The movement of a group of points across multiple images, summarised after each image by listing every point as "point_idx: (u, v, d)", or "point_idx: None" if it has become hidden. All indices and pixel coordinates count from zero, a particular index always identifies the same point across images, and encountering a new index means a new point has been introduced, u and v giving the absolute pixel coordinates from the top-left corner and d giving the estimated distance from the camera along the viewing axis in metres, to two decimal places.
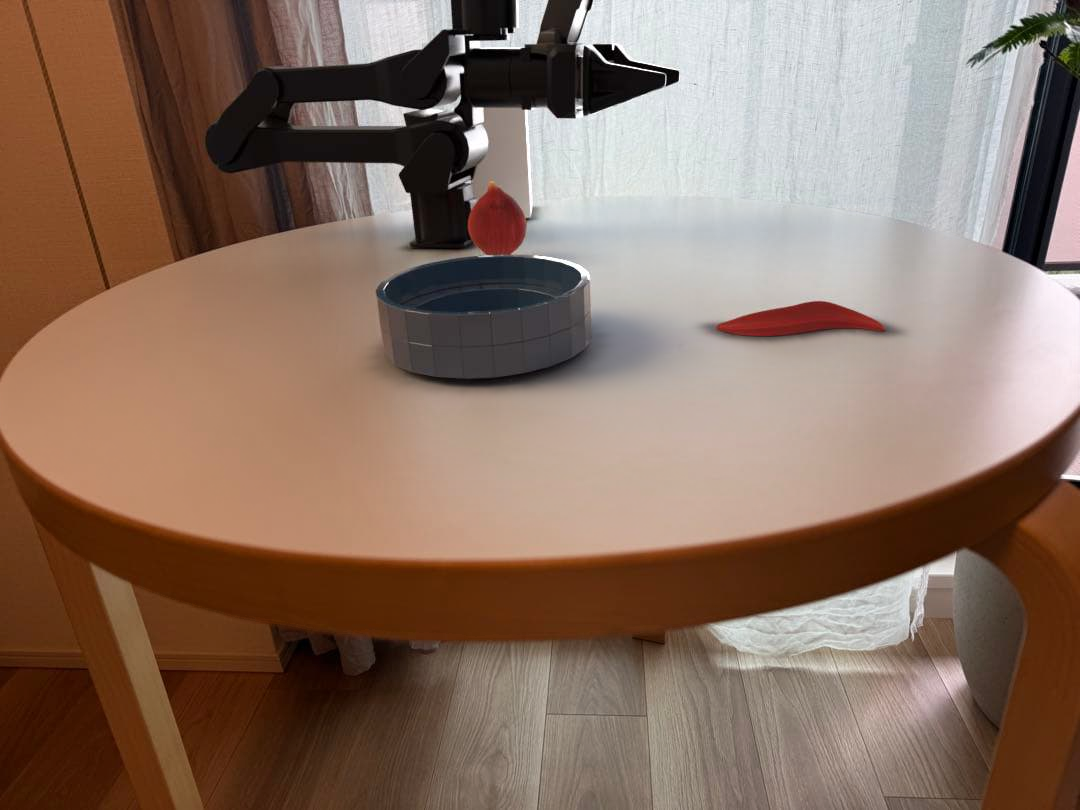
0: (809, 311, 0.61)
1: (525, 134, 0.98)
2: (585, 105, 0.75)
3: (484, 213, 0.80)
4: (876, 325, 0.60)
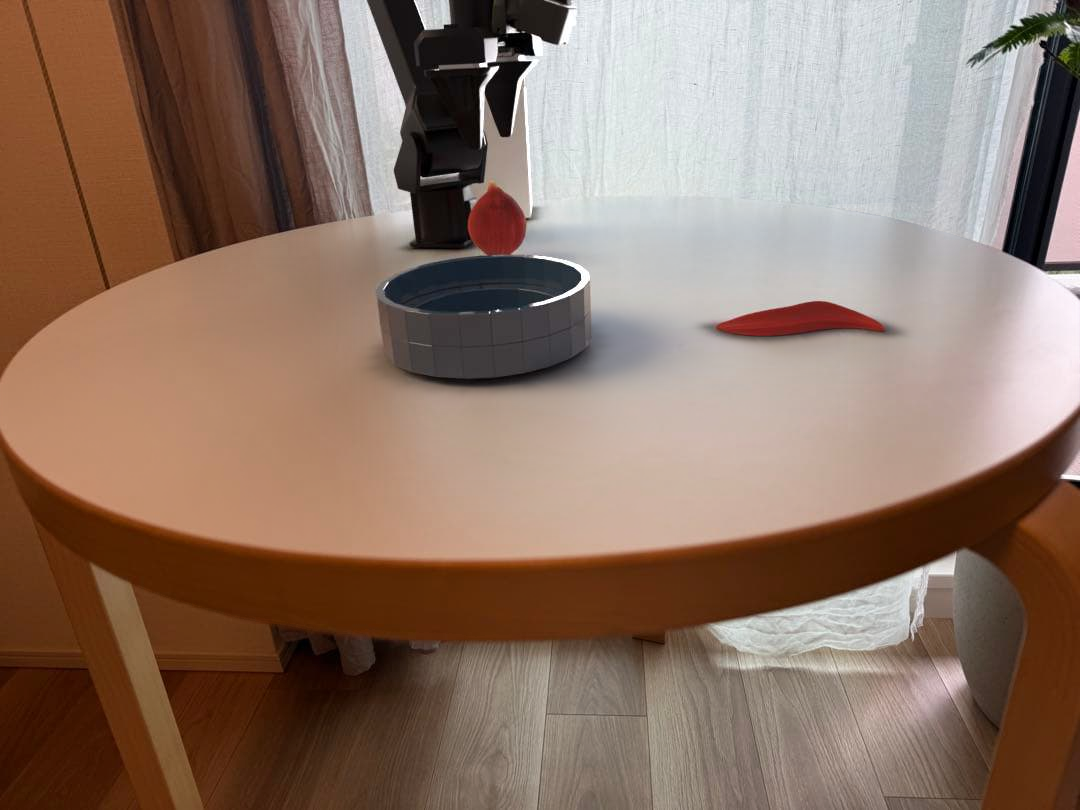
0: (809, 311, 0.61)
1: (525, 134, 0.98)
2: (432, 73, 0.70)
3: (484, 213, 0.80)
4: (876, 325, 0.60)
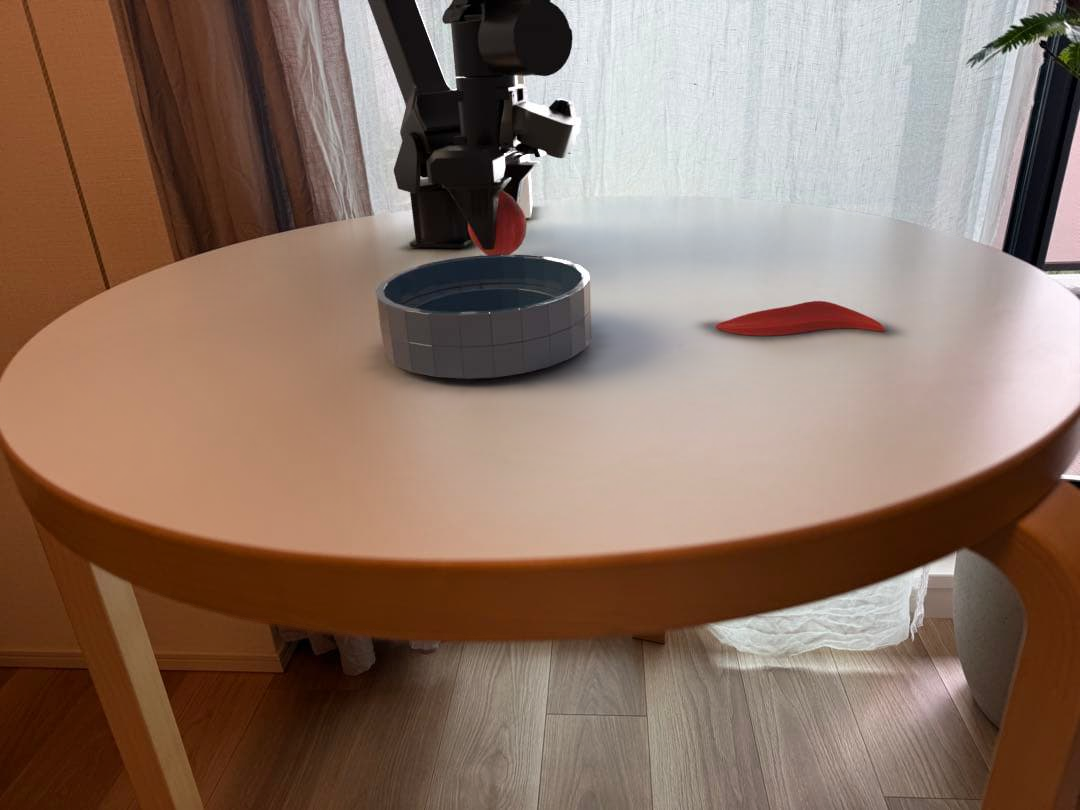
0: (809, 311, 0.61)
1: None
2: (450, 185, 0.75)
3: None
4: (876, 325, 0.60)
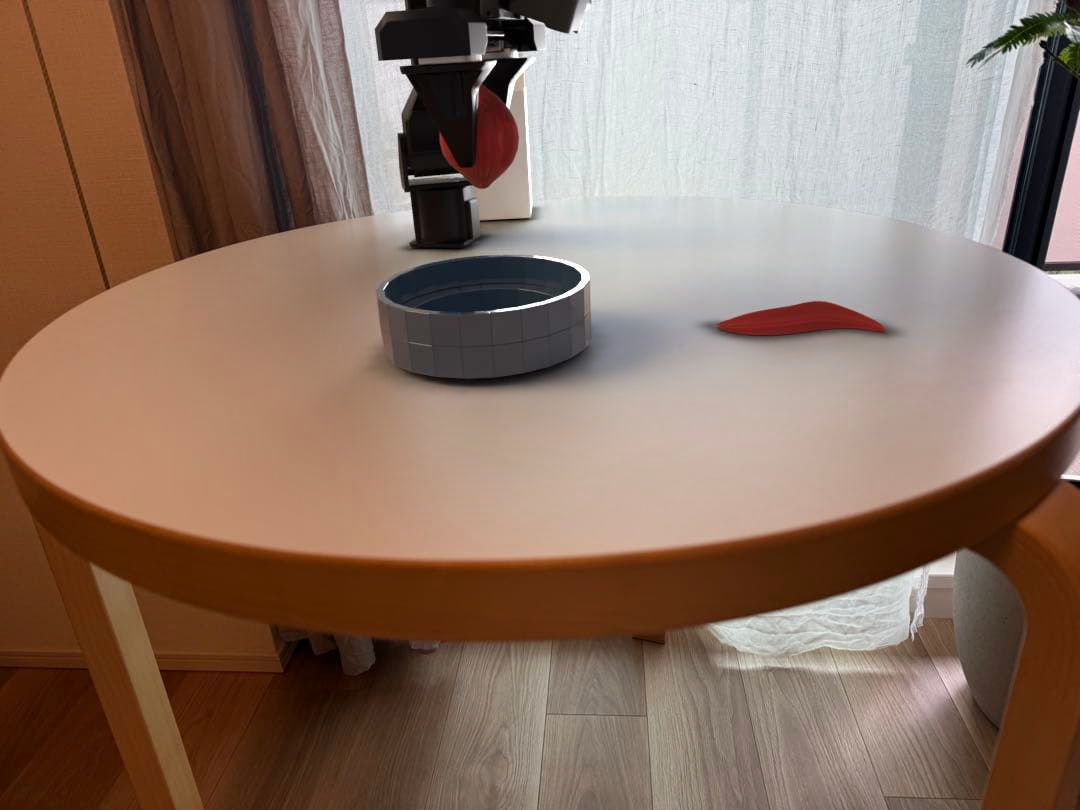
0: (809, 311, 0.61)
1: (525, 134, 0.98)
2: (410, 70, 0.54)
3: None
4: (876, 326, 0.60)
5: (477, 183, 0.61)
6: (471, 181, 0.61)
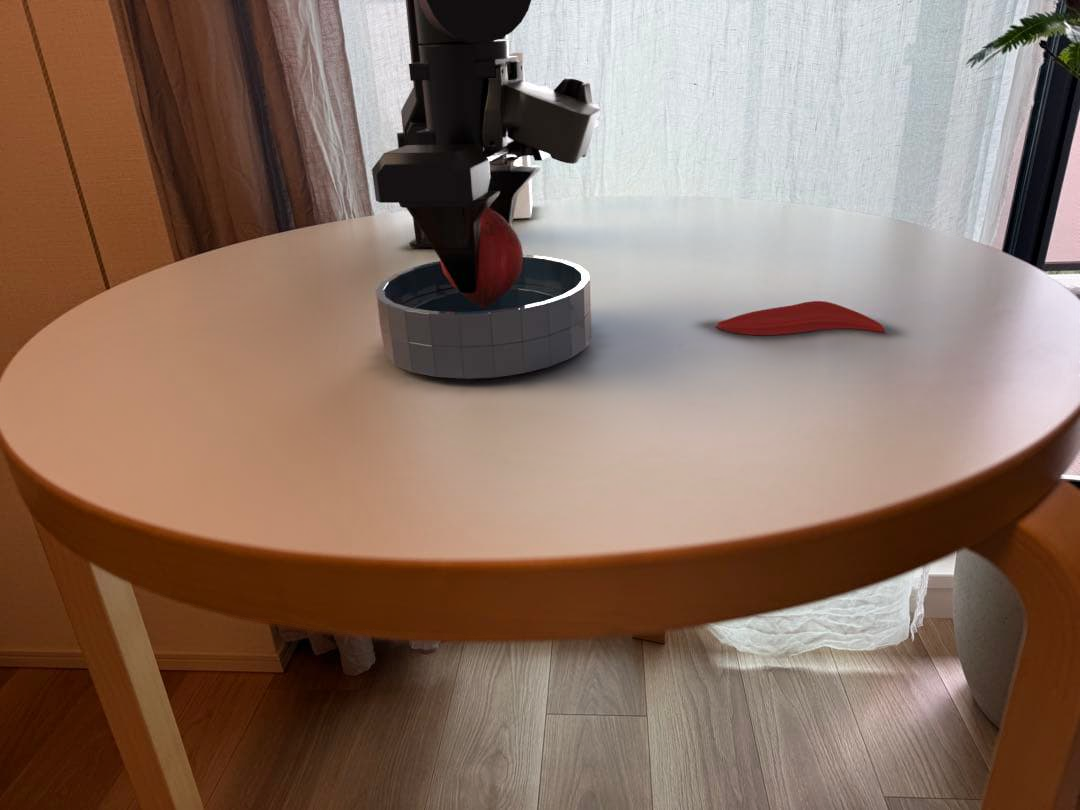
0: (809, 311, 0.61)
1: None
2: (409, 204, 0.51)
3: None
4: (876, 326, 0.60)
5: (478, 303, 0.59)
6: (473, 300, 0.59)
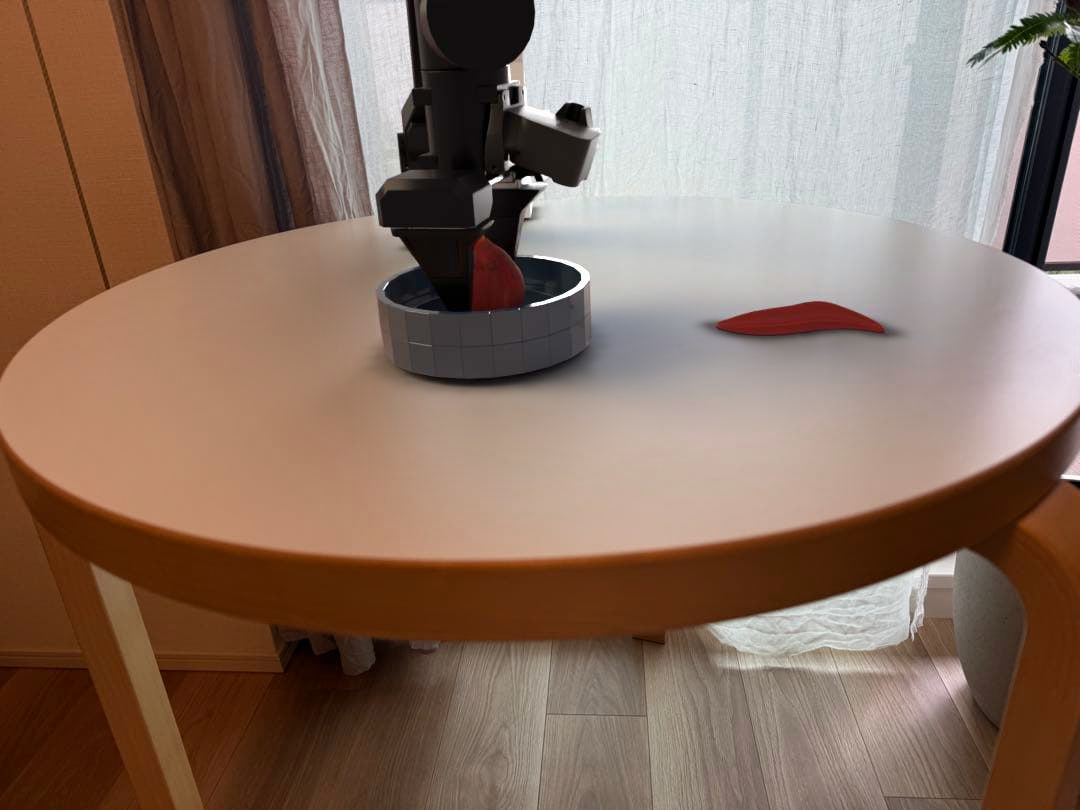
0: (809, 311, 0.61)
1: None
2: (401, 233, 0.50)
3: None
4: (876, 326, 0.60)
5: None
6: None
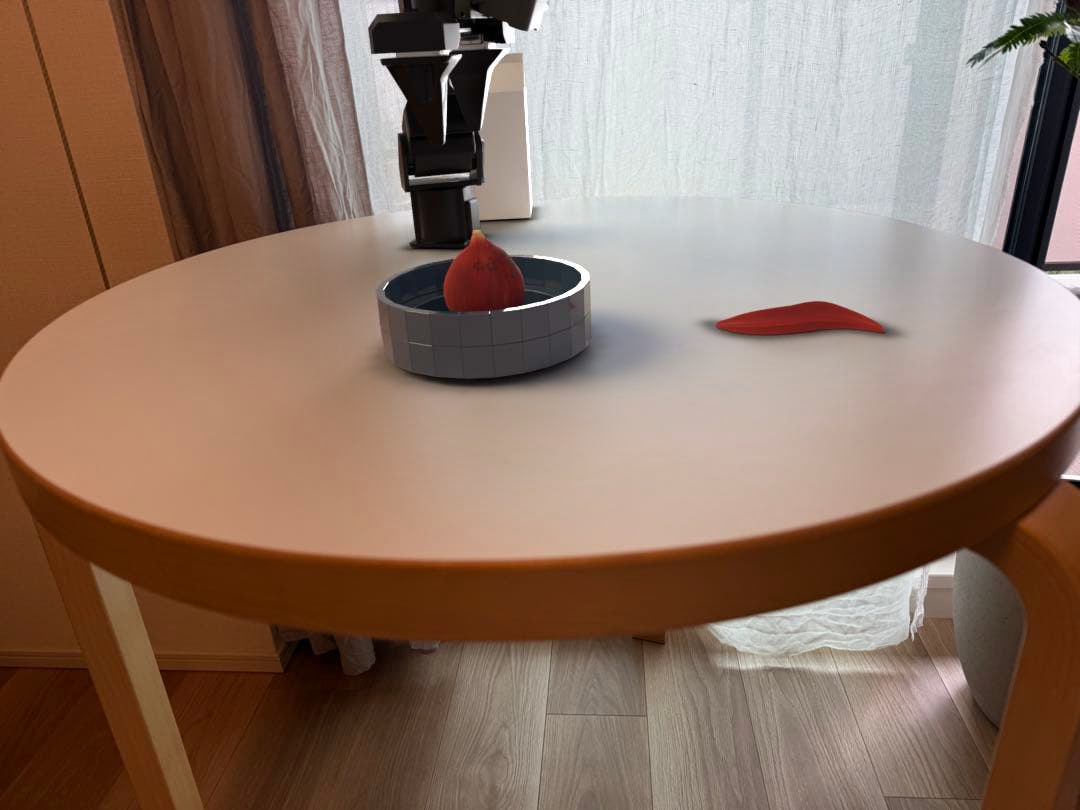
0: (809, 311, 0.61)
1: (525, 134, 0.98)
2: (389, 62, 0.64)
3: (466, 276, 0.57)
4: (876, 326, 0.60)
5: None
6: None
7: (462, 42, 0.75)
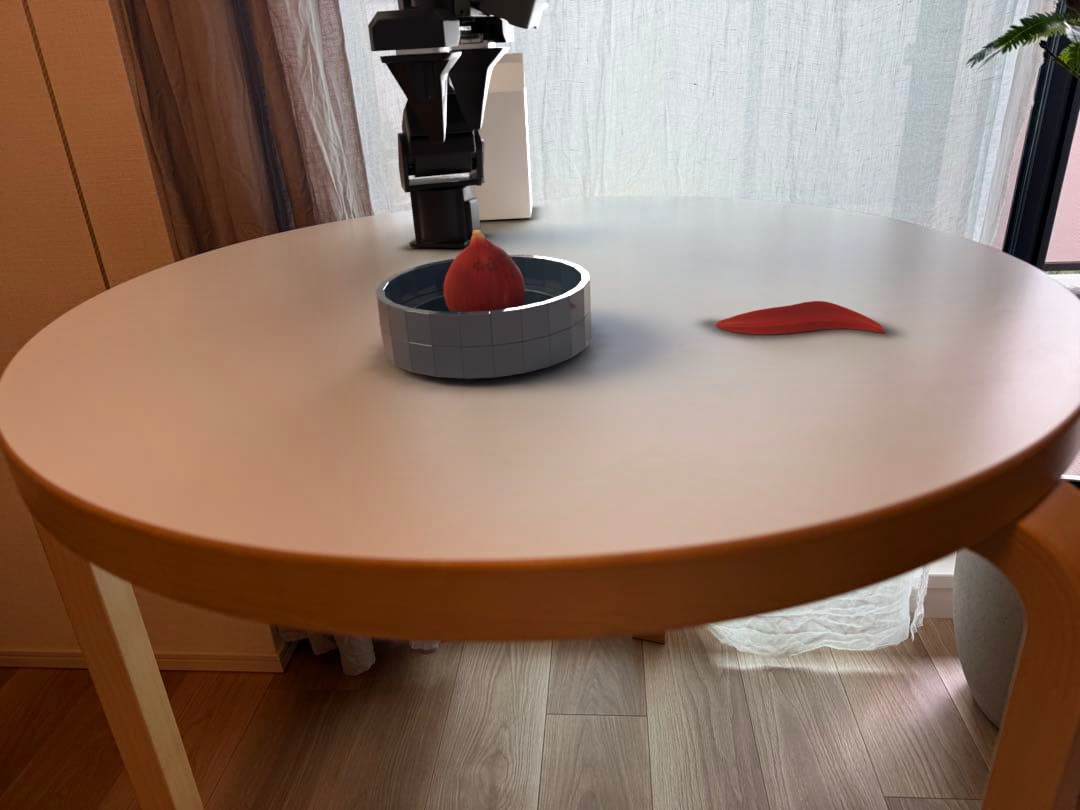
0: (809, 311, 0.61)
1: (525, 134, 0.98)
2: (389, 59, 0.64)
3: (466, 276, 0.57)
4: (876, 327, 0.60)
5: None
6: None
7: (462, 41, 0.75)
